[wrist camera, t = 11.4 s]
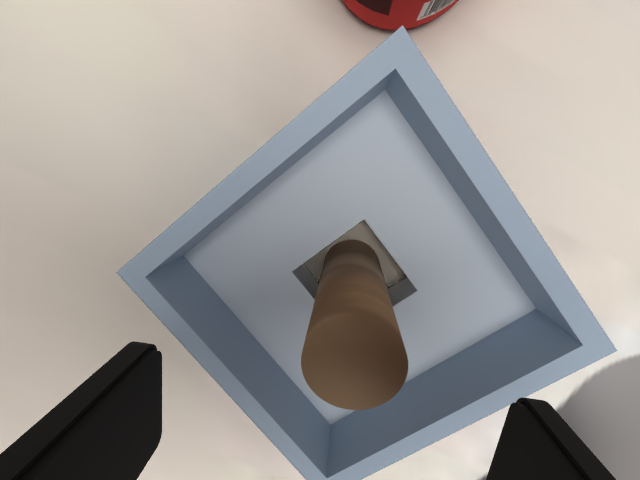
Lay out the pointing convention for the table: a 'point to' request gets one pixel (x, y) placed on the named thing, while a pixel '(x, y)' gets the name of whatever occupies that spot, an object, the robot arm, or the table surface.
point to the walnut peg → (353, 333)
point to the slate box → (406, 296)
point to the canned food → (398, 12)
